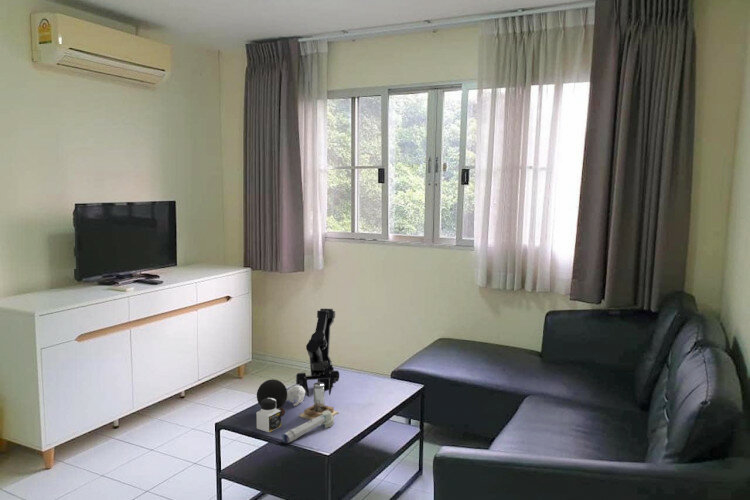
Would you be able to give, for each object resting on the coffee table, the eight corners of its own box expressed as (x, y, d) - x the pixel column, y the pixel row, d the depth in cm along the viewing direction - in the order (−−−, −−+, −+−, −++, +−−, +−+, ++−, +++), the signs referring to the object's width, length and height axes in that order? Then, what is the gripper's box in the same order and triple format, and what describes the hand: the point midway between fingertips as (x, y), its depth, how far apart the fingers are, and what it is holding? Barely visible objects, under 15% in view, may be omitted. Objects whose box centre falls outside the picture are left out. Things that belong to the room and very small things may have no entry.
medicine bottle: (269, 433, 217) (268, 404, 216) (256, 428, 221) (255, 400, 220) (281, 426, 223) (281, 398, 222) (268, 422, 227) (268, 395, 226)
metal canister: (311, 412, 235) (311, 383, 234) (320, 410, 238) (320, 381, 237) (317, 416, 232) (317, 386, 230) (326, 413, 235) (326, 384, 234)
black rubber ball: (293, 412, 238) (293, 379, 236) (271, 422, 227) (270, 387, 226) (273, 405, 246) (272, 373, 244) (250, 414, 235) (250, 381, 234)
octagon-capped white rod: (280, 432, 210) (327, 405, 227) (282, 447, 211) (328, 419, 229) (288, 436, 206) (335, 408, 224) (290, 451, 207) (337, 423, 225)
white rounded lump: (298, 388, 243) (276, 386, 248) (300, 407, 243) (278, 405, 248) (306, 384, 248) (284, 382, 253) (307, 402, 249) (286, 400, 254)
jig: (299, 416, 233) (299, 410, 233) (316, 407, 243) (316, 401, 243) (321, 423, 227) (321, 416, 227) (338, 413, 237) (338, 407, 237)
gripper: (296, 355, 235) (298, 388, 225) (338, 352, 239) (342, 385, 229) (295, 367, 243) (297, 400, 234) (336, 364, 247) (339, 396, 238)
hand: (319, 395), depth 233 cm, fingers open, 9 cm apart
